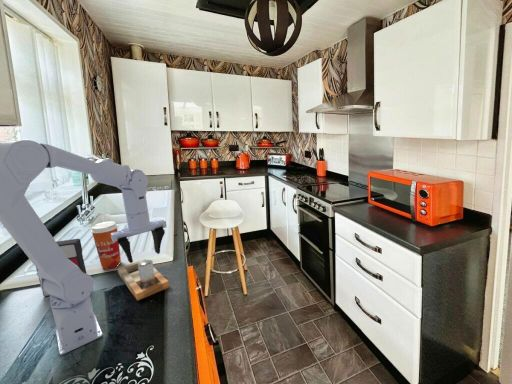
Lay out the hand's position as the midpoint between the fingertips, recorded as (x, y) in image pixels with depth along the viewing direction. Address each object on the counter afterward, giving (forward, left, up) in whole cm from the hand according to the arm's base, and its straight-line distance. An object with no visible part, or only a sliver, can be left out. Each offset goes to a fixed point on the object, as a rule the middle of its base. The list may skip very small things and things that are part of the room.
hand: (144, 256), depth 78 cm
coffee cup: (+24, +5, -10) cm, 26 cm away
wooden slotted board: (+5, 0, -10) cm, 11 cm away
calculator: (+16, +19, -10) cm, 27 cm away
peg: (-1, 0, -10) cm, 10 cm away
